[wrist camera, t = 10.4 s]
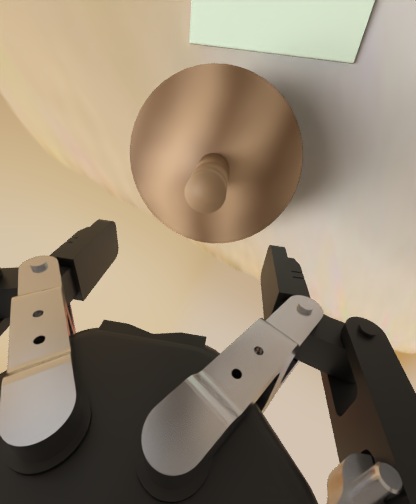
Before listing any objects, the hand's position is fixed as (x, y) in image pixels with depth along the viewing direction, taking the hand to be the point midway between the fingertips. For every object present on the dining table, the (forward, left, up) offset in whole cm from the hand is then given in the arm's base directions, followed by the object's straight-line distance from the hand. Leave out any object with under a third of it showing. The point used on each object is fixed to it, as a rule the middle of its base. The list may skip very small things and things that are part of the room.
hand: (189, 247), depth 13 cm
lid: (0, 0, -15) cm, 15 cm away
